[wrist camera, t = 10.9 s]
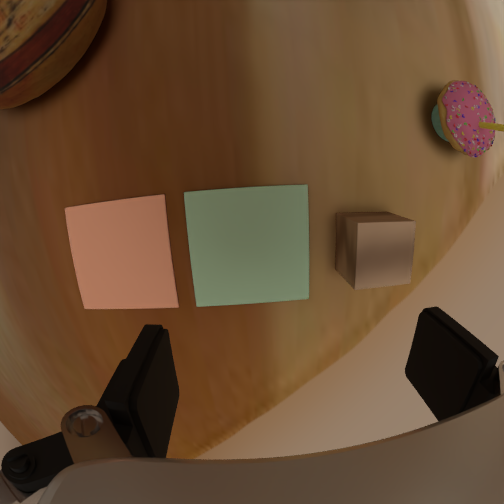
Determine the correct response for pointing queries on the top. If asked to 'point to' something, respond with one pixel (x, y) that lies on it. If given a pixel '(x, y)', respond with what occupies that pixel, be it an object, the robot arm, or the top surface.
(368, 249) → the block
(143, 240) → the mat
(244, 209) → the mat
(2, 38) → the ceramic pitcher
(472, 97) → the cupcake
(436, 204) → the top surface
